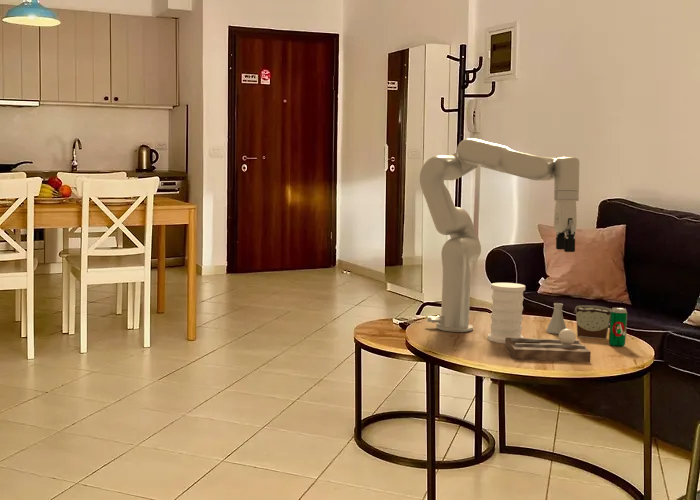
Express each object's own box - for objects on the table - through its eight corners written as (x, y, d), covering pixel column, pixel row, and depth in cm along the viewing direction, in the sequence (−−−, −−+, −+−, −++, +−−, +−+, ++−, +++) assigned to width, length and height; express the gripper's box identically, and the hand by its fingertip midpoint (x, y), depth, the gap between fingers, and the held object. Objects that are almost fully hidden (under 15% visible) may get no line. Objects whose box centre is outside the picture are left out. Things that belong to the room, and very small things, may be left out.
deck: (514, 359, 234) (514, 346, 234) (505, 347, 250) (505, 335, 250) (590, 361, 234) (590, 349, 233) (576, 349, 250) (576, 337, 249)
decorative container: (501, 344, 253) (504, 288, 251) (480, 337, 264) (483, 283, 262) (531, 342, 258) (534, 287, 256) (509, 335, 269) (512, 281, 267)
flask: (565, 331, 279) (567, 302, 278) (569, 335, 272) (570, 306, 270) (544, 330, 279) (546, 301, 278) (547, 334, 272) (549, 305, 271)
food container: (611, 336, 272) (613, 307, 271) (611, 339, 266) (613, 309, 265) (573, 332, 276) (575, 303, 275) (572, 336, 270) (574, 306, 269)
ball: (560, 346, 239) (561, 330, 238) (556, 343, 244) (557, 326, 243) (577, 347, 239) (578, 330, 238) (572, 343, 244) (573, 327, 243)
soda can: (613, 343, 261) (616, 306, 260) (628, 346, 257) (630, 309, 256) (605, 345, 257) (607, 308, 256) (619, 348, 254) (622, 310, 252)
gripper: (547, 196, 262) (546, 248, 263) (561, 197, 245) (560, 253, 246) (570, 196, 262) (569, 248, 263) (586, 196, 245) (585, 252, 246)
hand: (565, 250), depth 255 cm, fingers open, 9 cm apart
